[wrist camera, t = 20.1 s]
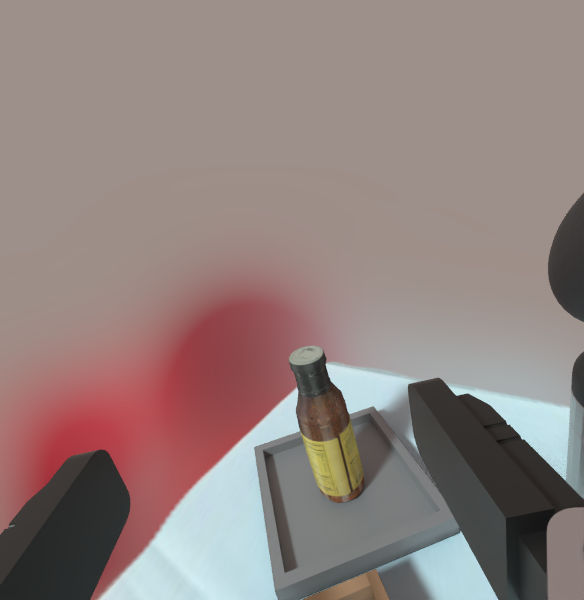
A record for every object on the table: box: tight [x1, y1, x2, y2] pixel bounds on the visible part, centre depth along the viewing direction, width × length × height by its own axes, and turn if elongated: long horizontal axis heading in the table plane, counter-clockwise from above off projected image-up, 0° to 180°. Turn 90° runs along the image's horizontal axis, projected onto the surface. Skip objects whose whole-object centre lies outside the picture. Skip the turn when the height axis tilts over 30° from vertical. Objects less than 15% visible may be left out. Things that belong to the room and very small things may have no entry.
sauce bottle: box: [289, 346, 364, 503], centre depth 39 cm, size 7×6×20 cm
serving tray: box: [254, 406, 460, 600], centre depth 43 cm, size 20×20×2 cm
